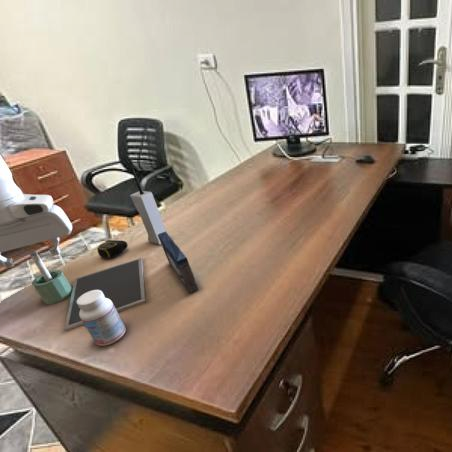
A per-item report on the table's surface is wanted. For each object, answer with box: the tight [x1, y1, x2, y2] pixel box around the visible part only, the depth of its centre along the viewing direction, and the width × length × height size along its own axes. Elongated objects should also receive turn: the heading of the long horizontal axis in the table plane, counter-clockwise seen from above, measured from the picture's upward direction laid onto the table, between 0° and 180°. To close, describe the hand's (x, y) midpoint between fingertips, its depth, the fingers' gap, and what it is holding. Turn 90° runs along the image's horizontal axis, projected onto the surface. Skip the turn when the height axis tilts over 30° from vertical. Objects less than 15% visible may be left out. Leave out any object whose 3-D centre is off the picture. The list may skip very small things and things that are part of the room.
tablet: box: [63, 257, 147, 332], centre depth 91 cm, size 17×22×1 cm
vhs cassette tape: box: [158, 231, 199, 294], centre depth 92 cm, size 18×3×10 cm, turn 36°
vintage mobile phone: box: [130, 167, 167, 246], centre depth 106 cm, size 4×5×25 cm
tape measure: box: [97, 239, 129, 259], centre depth 107 cm, size 7×7×4 cm
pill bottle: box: [77, 290, 127, 347], centre depth 74 cm, size 6×6×11 cm
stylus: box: [28, 250, 53, 282], centre depth 88 cm, size 1×1×13 cm
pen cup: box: [31, 269, 73, 305], centre depth 90 cm, size 6×6×6 cm
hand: (34, 260), depth 86 cm, fingers open, 8 cm apart
